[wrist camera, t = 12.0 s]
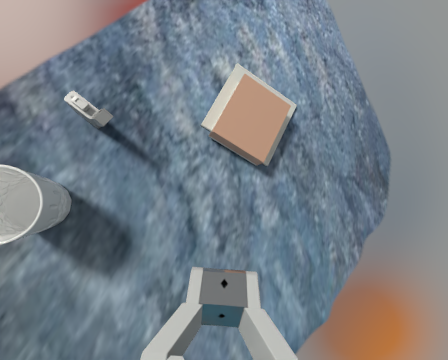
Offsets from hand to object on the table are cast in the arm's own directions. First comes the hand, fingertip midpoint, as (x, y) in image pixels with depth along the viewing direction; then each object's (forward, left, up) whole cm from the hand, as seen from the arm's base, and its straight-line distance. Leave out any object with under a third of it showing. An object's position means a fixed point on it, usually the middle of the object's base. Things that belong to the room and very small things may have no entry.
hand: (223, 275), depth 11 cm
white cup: (+13, +14, -27) cm, 33 cm away
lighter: (+20, +2, -27) cm, 34 cm away
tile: (+5, -15, -25) cm, 29 cm away
